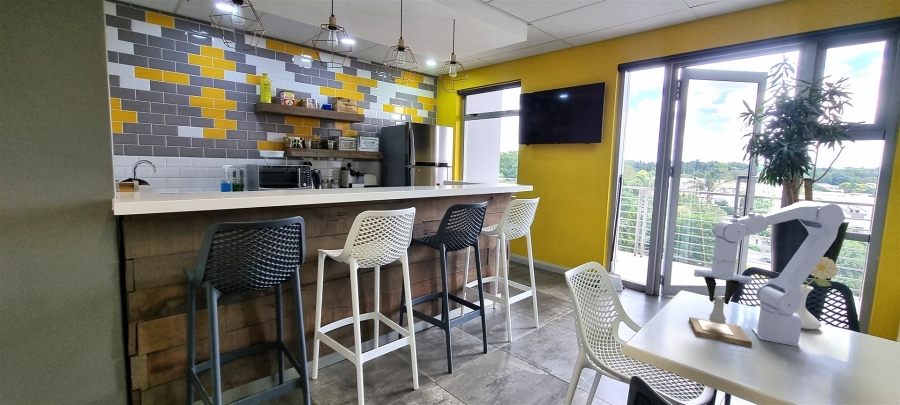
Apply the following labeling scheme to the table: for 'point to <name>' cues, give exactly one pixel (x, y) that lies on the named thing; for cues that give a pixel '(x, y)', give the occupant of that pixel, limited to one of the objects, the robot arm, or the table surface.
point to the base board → (719, 331)
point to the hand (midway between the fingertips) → (718, 301)
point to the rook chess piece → (718, 311)
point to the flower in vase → (822, 271)
